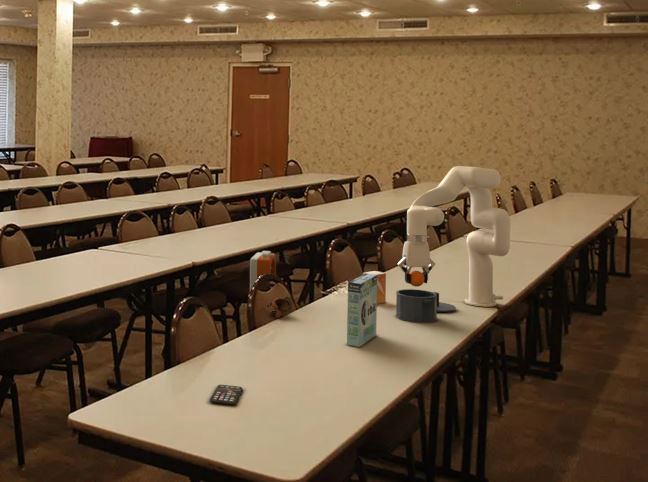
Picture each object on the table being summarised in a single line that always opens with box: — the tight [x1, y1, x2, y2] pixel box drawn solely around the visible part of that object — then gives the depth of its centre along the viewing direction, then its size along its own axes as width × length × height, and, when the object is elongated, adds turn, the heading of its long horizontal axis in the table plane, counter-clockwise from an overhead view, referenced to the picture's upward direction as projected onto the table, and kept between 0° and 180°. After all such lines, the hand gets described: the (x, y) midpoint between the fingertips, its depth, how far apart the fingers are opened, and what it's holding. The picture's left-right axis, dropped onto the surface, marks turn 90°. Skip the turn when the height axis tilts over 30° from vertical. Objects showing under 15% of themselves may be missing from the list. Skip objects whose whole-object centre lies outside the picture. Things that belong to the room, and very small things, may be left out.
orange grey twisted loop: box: [270, 297, 293, 319], centre depth 337 cm, size 12×10×8 cm
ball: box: [409, 270, 425, 288], centre depth 334 cm, size 6×6×6 cm
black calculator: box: [209, 384, 243, 406], centre depth 242 cm, size 7×1×15 cm
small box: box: [362, 270, 387, 305], centre depth 362 cm, size 8×6×13 cm
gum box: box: [346, 272, 378, 348], centre depth 301 cm, size 20×5×23 cm, turn 144°
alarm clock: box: [249, 250, 277, 292], centre depth 373 cm, size 18×9×21 cm, turn 160°
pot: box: [395, 288, 438, 324], centre depth 334 cm, size 15×21×10 cm
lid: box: [432, 291, 457, 313], centre depth 350 cm, size 16×16×7 cm
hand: (416, 282), depth 334 cm, fingers closed on ball, 6 cm apart
